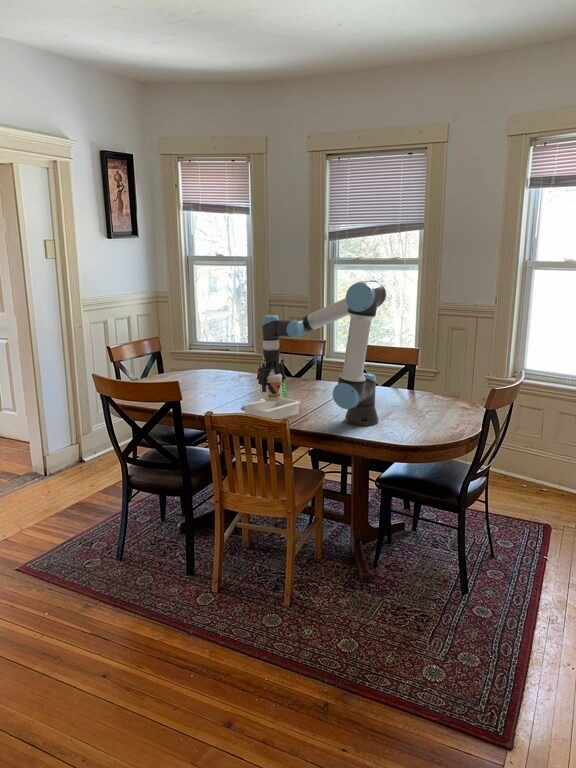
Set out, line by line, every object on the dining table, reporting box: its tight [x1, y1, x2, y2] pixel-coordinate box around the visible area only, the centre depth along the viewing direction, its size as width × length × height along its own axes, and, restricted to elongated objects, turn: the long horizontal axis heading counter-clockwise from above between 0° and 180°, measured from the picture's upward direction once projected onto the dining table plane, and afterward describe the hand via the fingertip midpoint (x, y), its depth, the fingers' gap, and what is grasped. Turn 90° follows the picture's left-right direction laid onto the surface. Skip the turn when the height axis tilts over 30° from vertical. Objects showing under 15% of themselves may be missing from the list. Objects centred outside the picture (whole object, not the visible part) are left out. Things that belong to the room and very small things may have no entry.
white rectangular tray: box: [241, 397, 303, 420], centre depth 271 cm, size 23×17×6 cm
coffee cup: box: [264, 372, 283, 402], centre depth 268 cm, size 9×9×12 cm
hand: (272, 396), depth 269 cm, fingers closed on coffee cup, 8 cm apart
